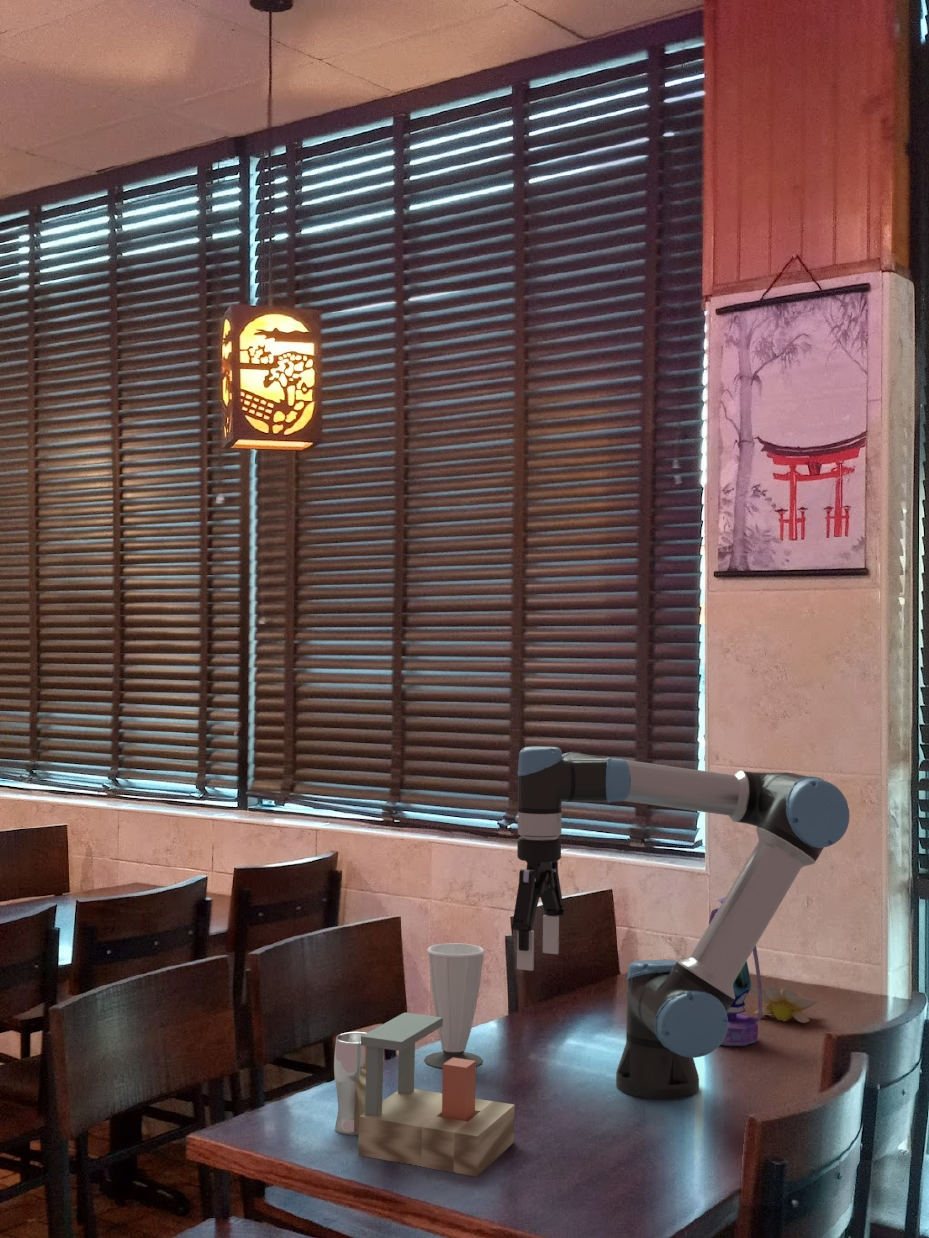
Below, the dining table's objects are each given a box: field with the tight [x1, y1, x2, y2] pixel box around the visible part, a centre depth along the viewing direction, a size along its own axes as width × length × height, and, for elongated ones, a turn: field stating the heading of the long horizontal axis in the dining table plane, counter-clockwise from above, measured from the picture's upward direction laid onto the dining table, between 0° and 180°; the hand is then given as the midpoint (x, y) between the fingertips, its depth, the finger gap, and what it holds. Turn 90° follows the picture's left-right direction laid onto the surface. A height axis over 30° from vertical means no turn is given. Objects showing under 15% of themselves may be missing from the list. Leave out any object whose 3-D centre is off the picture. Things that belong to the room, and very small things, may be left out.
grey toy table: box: [361, 1012, 443, 1117], centre depth 212 cm, size 7×16×12 cm, turn 157°
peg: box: [441, 1058, 477, 1122], centre depth 208 cm, size 4×4×14 cm
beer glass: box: [333, 1031, 367, 1136], centre depth 217 cm, size 7×7×15 cm
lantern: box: [708, 897, 763, 1047], centre depth 274 cm, size 13×12×30 cm
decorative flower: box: [749, 986, 819, 1024], centre depth 292 cm, size 15×11×10 cm
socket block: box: [357, 1088, 516, 1178], centre depth 209 cm, size 20×16×6 cm
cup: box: [423, 942, 486, 1070], centre depth 256 cm, size 12×12×22 cm
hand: (538, 961), depth 225 cm, fingers open, 13 cm apart
